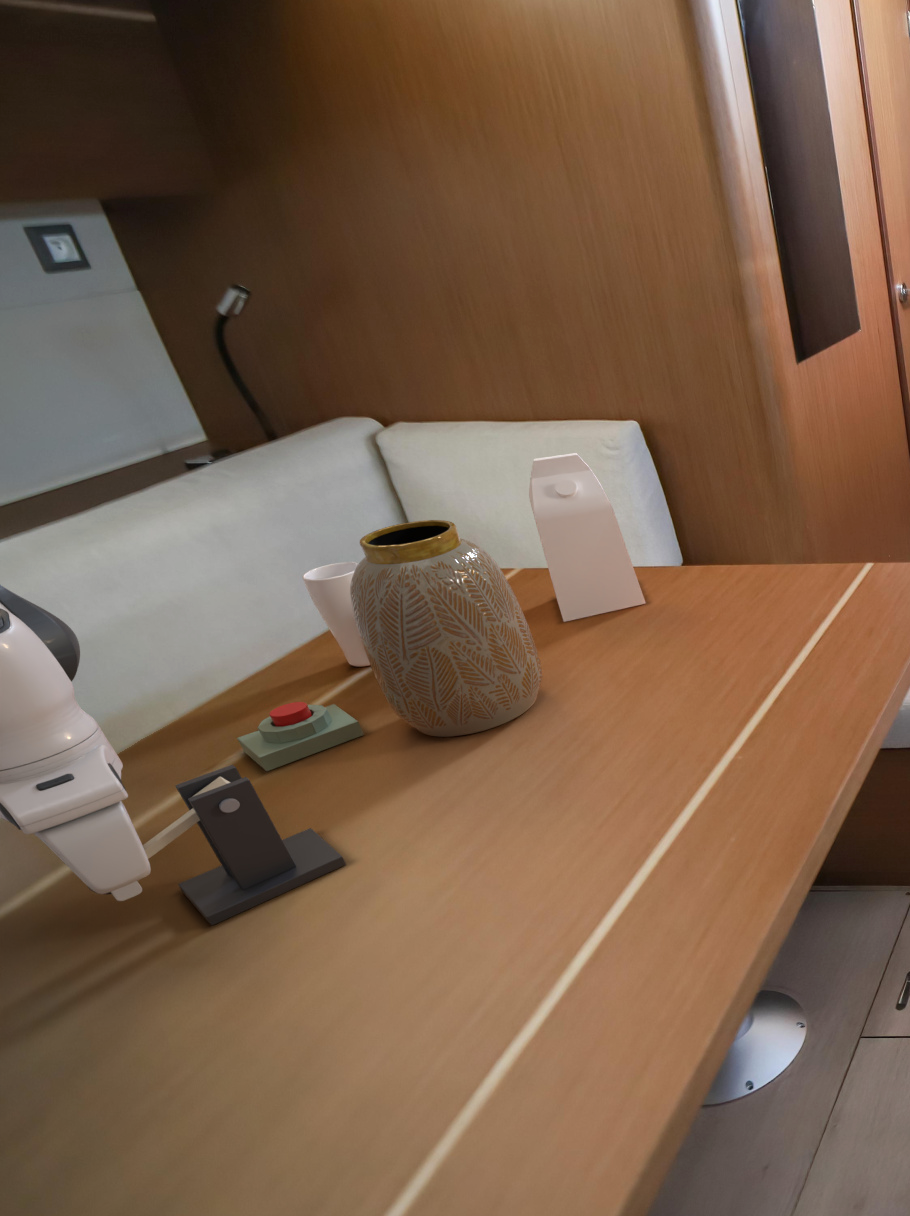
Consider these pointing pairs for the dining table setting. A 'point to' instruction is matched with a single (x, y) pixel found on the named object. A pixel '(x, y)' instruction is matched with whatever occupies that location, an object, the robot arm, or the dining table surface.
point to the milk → (581, 539)
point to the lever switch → (177, 825)
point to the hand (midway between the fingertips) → (122, 886)
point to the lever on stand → (247, 849)
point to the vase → (443, 630)
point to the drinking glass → (337, 607)
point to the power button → (290, 714)
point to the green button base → (299, 737)
